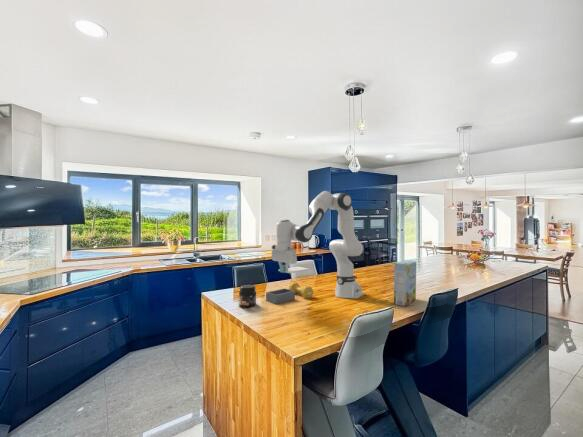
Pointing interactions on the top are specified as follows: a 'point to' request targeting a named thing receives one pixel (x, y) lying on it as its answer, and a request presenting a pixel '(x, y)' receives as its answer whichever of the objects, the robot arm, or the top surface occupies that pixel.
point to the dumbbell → (302, 290)
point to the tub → (280, 296)
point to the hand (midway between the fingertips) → (284, 269)
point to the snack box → (405, 282)
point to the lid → (292, 269)
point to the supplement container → (247, 296)
